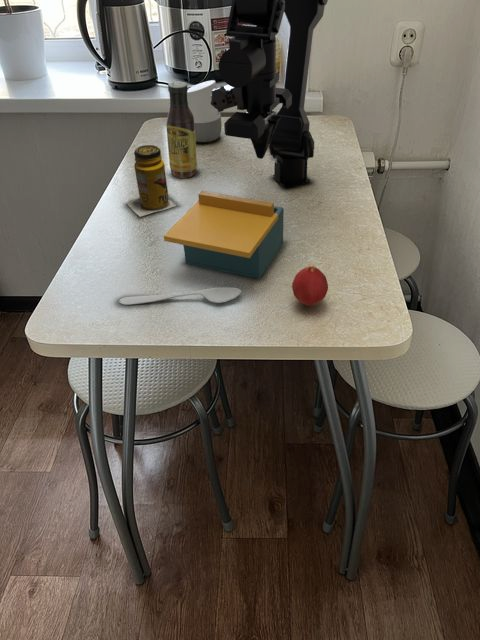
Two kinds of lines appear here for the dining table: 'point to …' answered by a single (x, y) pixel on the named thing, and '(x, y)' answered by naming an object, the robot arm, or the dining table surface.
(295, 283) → the onion
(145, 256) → the dining table surface
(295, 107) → the robot arm
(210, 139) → the smart speaker
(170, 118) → the sauce bottle
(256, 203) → the bin lid
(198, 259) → the storage bin
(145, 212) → the condiment
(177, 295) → the spoon
